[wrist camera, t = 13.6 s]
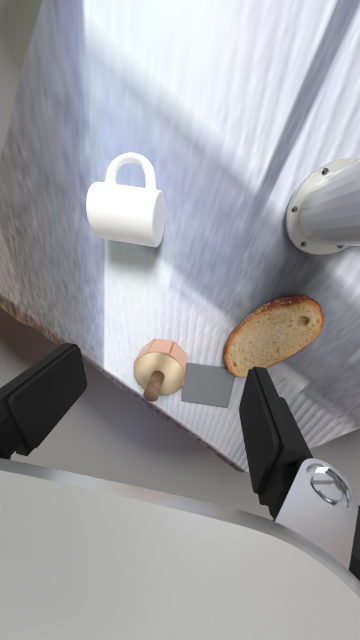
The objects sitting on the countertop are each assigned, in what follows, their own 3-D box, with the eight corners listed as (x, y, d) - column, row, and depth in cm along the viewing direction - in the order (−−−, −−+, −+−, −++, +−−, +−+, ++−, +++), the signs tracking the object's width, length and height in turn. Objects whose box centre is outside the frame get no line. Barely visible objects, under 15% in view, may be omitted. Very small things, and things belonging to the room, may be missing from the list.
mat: (235, 368, 43) (235, 370, 42) (227, 406, 47) (227, 408, 47) (184, 362, 44) (184, 363, 43) (181, 399, 49) (181, 401, 48)
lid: (185, 355, 37) (181, 376, 31) (182, 395, 42) (178, 421, 36) (133, 348, 38) (120, 368, 32) (136, 388, 43) (124, 412, 37)
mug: (162, 246, 34) (150, 248, 27) (112, 238, 35) (87, 238, 28) (170, 167, 29) (157, 143, 22) (111, 160, 30) (80, 134, 23)
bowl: (188, 342, 42) (185, 355, 37) (185, 380, 46) (182, 396, 42) (141, 337, 43) (132, 348, 38) (142, 375, 47) (135, 389, 43)
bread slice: (223, 373, 43) (224, 384, 39) (223, 298, 36) (224, 303, 33) (307, 374, 40) (317, 386, 36) (323, 293, 33) (337, 298, 30)
